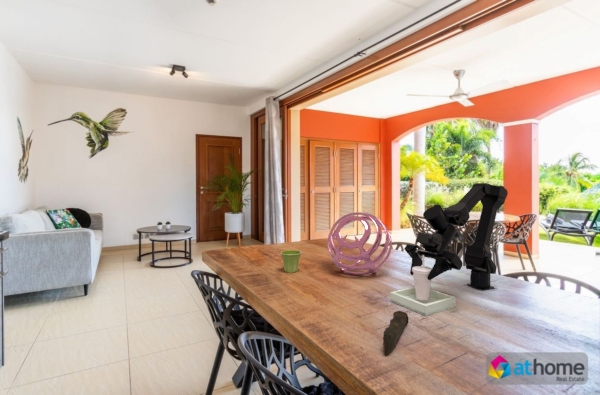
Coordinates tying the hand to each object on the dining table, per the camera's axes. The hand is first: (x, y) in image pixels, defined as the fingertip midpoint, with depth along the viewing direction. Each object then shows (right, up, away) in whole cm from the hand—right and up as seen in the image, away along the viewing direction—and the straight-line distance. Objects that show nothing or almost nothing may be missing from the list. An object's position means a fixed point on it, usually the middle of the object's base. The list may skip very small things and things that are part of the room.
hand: (419, 276), depth 101 cm
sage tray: (+1, -9, +1) cm, 9 cm away
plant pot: (-42, -8, +42) cm, 60 cm away
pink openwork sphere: (-13, -8, +38) cm, 41 cm away
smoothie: (+1, -7, +1) cm, 8 cm away
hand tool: (-14, -11, -22) cm, 28 cm away
